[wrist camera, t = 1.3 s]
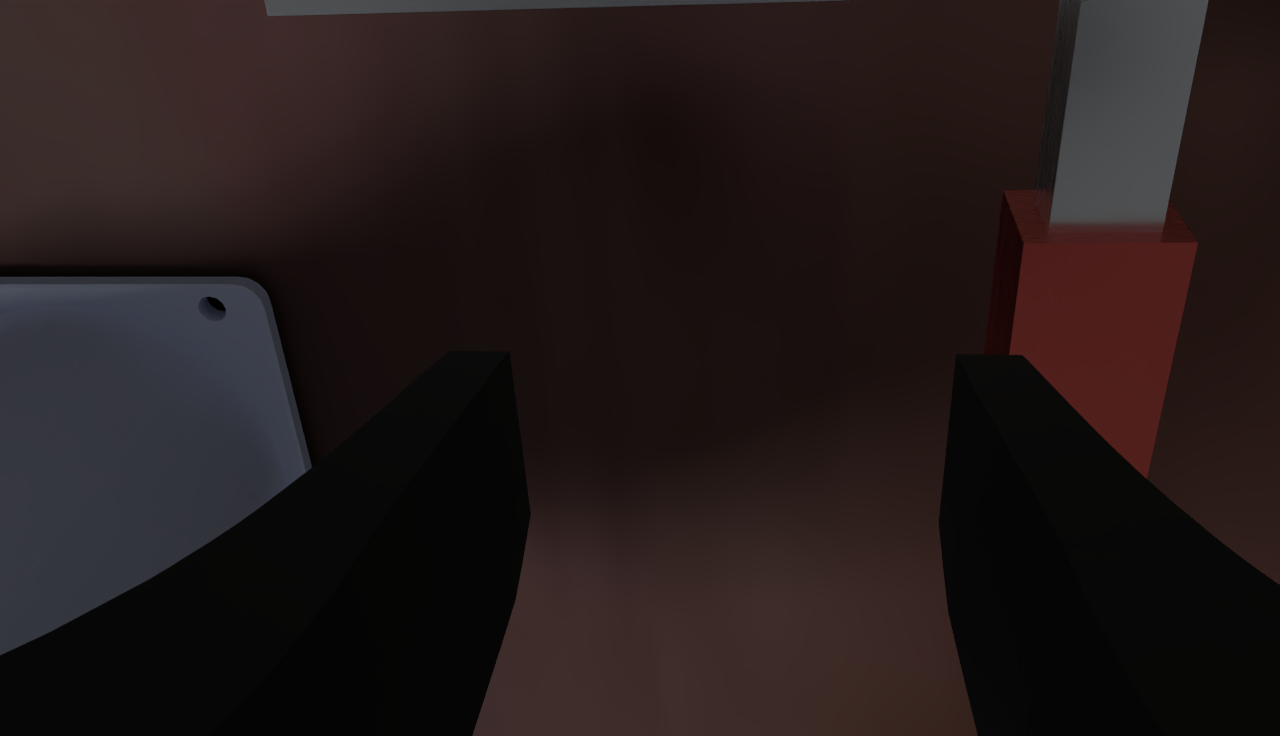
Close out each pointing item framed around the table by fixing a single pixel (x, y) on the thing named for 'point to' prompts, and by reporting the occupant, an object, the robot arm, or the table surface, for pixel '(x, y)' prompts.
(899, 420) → the table surface
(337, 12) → the valve on pipe
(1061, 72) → the valve lever
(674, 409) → the table surface
